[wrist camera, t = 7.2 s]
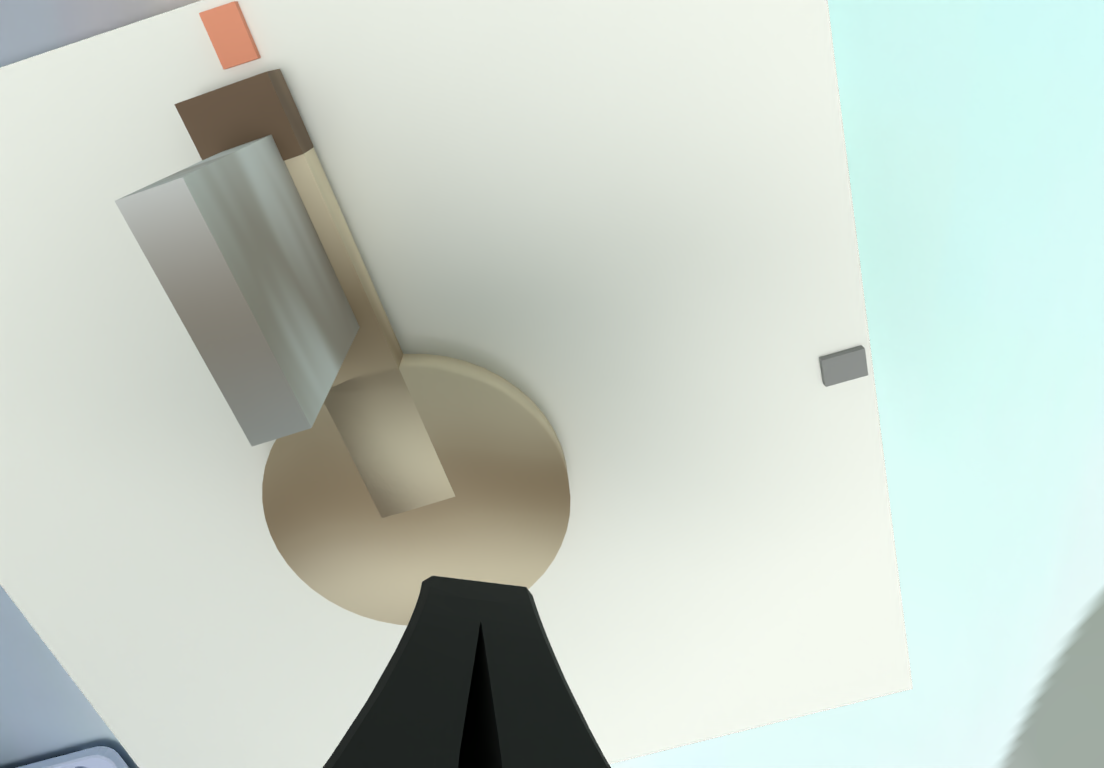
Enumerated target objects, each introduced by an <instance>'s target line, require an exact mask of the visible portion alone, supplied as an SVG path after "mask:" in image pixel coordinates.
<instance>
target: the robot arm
mask: <svg viewBox="0 0 1104 768" xmlns="http://www.w3.org/2000/svg"><path fill="white" fill-rule="evenodd" d="M17 768H129V767H128V766H127V764H126V763H125V762H124V760H123V759H122V758H121V757H120V755H119V754H118V753H117V752H116V751H115V750H114V749H111V748H109V747H105V746H98V747H93V748H89V749H85V750H81V751H77V752H74V753H70V754H66V755H62V756H59V757H55V758H51V759H47V760H43V761H40V762H36V763H32V764H28V765H24V766H21V767H17ZM323 768H611V767H610V765H609V763H608V762H607V760H606V758H605V756H604V755H603V753H602V751H601V749H600V747H599V745H598V743H597V741H596V740H595V738H594V736H593V734H592V732H591V730H590V728H589V726H588V724H587V722H586V720H585V718H584V716H583V714H582V712H581V710H580V708H579V706H578V704H577V702H576V700H575V698H574V696H573V694H572V692H571V690H570V688H569V686H568V683H567V681H566V679H565V677H564V675H563V672H562V670H561V668H560V666H559V663H558V661H557V659H556V656H555V654H554V652H553V649H552V647H551V645H550V642H549V640H548V637H547V635H546V632H545V629H544V627H543V624H542V622H541V619H540V616H539V613H538V610H537V607H536V604H535V601H534V598H533V595H532V594H531V593H530V591H529V590H528V589H527V587H523V586H514V585H506V584H498V583H490V582H481V581H473V580H465V579H457V578H449V577H440V576H431V577H429V578H427V579H426V580H424V581H422V585H421V589H420V594H419V597H418V600H417V603H416V606H415V609H414V611H413V614H412V616H411V618H410V621H409V623H408V625H407V628H406V630H405V632H404V634H403V636H402V638H401V640H400V642H399V644H398V646H397V648H396V650H395V652H394V654H393V656H392V657H391V659H390V661H389V663H388V665H387V666H386V668H385V670H384V672H383V673H382V675H381V677H380V679H379V681H378V682H377V684H376V686H375V688H374V689H373V691H372V693H371V695H370V696H369V698H368V700H367V701H366V703H365V705H364V706H363V708H362V709H361V711H360V712H359V714H358V715H357V717H356V718H355V720H354V721H353V723H352V724H351V726H350V727H349V729H348V731H347V732H346V734H345V735H344V737H343V738H342V740H341V741H340V743H339V744H338V746H337V747H336V749H335V750H334V752H333V753H332V755H331V756H330V758H329V759H328V761H327V762H326V763H325V765H324V766H323Z"/></svg>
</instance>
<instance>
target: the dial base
mask: <svg viewBox="0 0 1104 768" xmlns="http://www.w3.org/2000/svg"><path fill="white" fill-rule="evenodd" d="M276 69H280V70H281V72H282V75H283V77H284V79H285V81H286V84H287V86H288V88H289V91H290V93H291V95H292V98H293V100H294V102H295V104H296V107H297V109H298V111H299V114H300V116H301V118H302V120H303V123H304V125H305V127H306V130H307V132H308V134H309V137H310V139H311V141H312V143H313V146H314V150H315V152H316V154H317V157H318V159H319V161H320V164H321V166H322V168H323V170H324V173H325V175H326V177H327V180H328V182H329V184H330V186H331V189H332V191H333V193H334V196H335V198H336V200H337V203H338V205H339V207H340V209H341V212H342V214H343V216H344V219H345V221H346V223H347V226H348V228H349V230H350V232H351V235H352V237H353V239H354V242H355V244H356V246H357V248H358V251H359V253H360V255H361V258H362V260H363V262H364V265H365V267H366V269H367V271H368V274H369V276H370V278H371V281H372V283H373V285H374V288H375V290H376V292H377V294H378V297H379V299H380V301H381V304H382V306H383V308H384V310H385V313H386V315H387V317H388V320H389V322H390V324H391V327H392V329H393V331H394V333H395V336H396V338H397V340H398V343H399V345H400V347H401V349H402V352H403V354H431V355H439V356H447V357H451V358H455V359H459V360H463V361H467V362H469V363H472V364H475V365H477V366H480V367H483V368H485V369H487V370H489V371H491V372H493V373H495V374H497V375H499V376H501V377H503V378H504V379H506V380H507V381H508V382H510V383H511V384H513V385H514V386H516V387H517V388H519V389H520V390H521V391H522V392H523V393H524V394H525V395H526V396H528V397H529V398H530V399H531V400H532V401H533V402H534V403H535V404H536V406H537V407H538V408H539V409H540V410H541V411H542V413H543V414H544V415H545V416H546V418H547V420H548V421H549V423H550V424H551V426H552V427H553V429H554V431H555V433H556V435H557V437H558V440H559V442H560V444H561V446H562V450H563V453H564V457H565V461H566V466H567V473H568V480H569V489H570V497H571V498H570V516H569V521H568V527H567V531H566V534H565V537H564V540H563V542H562V545H561V547H560V549H559V551H558V553H557V555H556V557H555V559H554V560H553V562H552V563H551V564H550V566H549V567H548V569H547V570H546V571H545V573H544V574H543V575H542V576H541V577H540V578H539V579H538V580H537V581H536V582H535V583H534V584H533V586H531V587H530V588H529V589H528V590H529V591H530V593H531V594H532V595H533V598H534V601H535V604H536V607H537V610H538V613H539V616H540V619H541V622H542V624H543V627H544V629H545V632H546V635H547V637H548V640H549V642H550V645H551V647H552V649H553V652H554V654H555V656H556V659H557V661H558V663H559V666H560V668H561V670H562V672H563V675H564V677H565V679H566V681H567V683H568V686H569V688H570V690H571V692H572V694H573V696H574V698H575V700H576V702H577V704H578V706H579V708H580V710H581V712H582V714H583V716H584V718H585V720H586V722H587V724H588V726H589V728H590V730H591V732H592V734H593V736H594V738H595V740H596V741H597V743H598V745H599V747H600V749H601V751H602V753H603V755H604V756H605V758H606V760H607V762H608V763H609V764H613V763H617V762H621V761H625V760H629V759H633V758H637V757H641V756H645V755H649V754H653V753H657V752H661V751H665V750H669V749H673V748H677V747H681V746H685V745H689V744H693V743H697V742H701V741H705V740H709V739H713V738H717V737H721V736H725V735H729V734H733V733H737V732H741V731H745V730H749V729H753V728H757V727H761V726H765V725H769V724H773V723H777V722H781V721H785V720H789V719H793V718H797V717H801V716H805V715H809V714H813V713H817V712H821V711H825V710H829V709H833V708H837V707H841V706H845V705H849V704H853V703H857V702H861V701H866V700H870V699H874V698H878V697H882V696H886V695H890V694H894V693H898V692H902V691H906V690H910V689H913V687H912V679H911V671H910V663H909V654H908V646H907V638H906V630H905V622H904V614H903V606H902V598H901V590H900V582H899V574H898V566H897V558H896V549H895V541H894V533H893V525H892V517H891V509H890V501H889V493H888V485H887V477H886V469H885V461H884V453H883V444H882V436H881V428H880V420H879V412H878V404H877V396H876V388H875V380H874V372H873V364H872V356H871V348H870V340H869V331H868V323H867V315H866V307H865V299H864V291H863V283H862V275H861V267H860V259H859V251H858V243H857V235H856V226H855V218H854V210H853V202H852V194H851V186H850V178H849V170H848V162H847V154H846V146H845V138H844V130H843V121H842V113H841V105H840V97H839V89H838V81H837V73H836V65H835V57H834V49H833V41H832V33H831V25H830V16H829V8H828V0H201V1H198V2H195V3H192V4H189V5H186V6H183V7H180V8H177V9H174V10H171V11H168V12H165V13H162V14H159V15H156V16H153V17H150V18H147V19H144V20H141V21H138V22H135V23H132V24H129V25H126V26H123V27H120V28H117V29H114V30H111V31H108V32H105V33H102V34H99V35H96V36H93V37H90V38H87V39H84V40H81V41H78V42H75V43H72V44H69V45H66V46H63V47H60V48H57V49H54V50H51V51H48V52H46V53H43V54H40V55H37V56H34V57H31V58H28V59H25V60H22V61H19V62H16V63H13V64H10V65H7V66H4V67H1V68H0V585H1V586H2V587H3V589H4V590H5V591H6V593H7V594H8V595H9V597H10V598H11V599H12V601H13V602H14V603H15V605H16V606H17V607H18V609H19V610H20V611H21V613H22V614H23V615H24V616H25V618H26V619H27V620H28V622H29V623H30V624H31V626H32V627H33V628H34V630H35V631H36V632H37V634H38V635H39V636H40V638H41V639H42V640H43V642H44V643H45V644H46V646H47V647H48V648H49V650H50V651H51V652H52V654H53V655H54V656H55V657H56V659H57V660H58V661H59V663H60V664H61V665H62V667H63V668H64V669H65V671H66V672H67V673H68V675H69V676H70V677H71V679H72V680H73V681H74V683H75V684H76V685H77V687H78V688H79V689H80V691H81V692H82V693H83V695H84V696H85V697H86V698H87V700H88V701H89V702H90V704H91V705H92V706H93V708H94V709H95V710H96V712H97V713H98V714H99V716H100V717H101V718H102V720H103V721H104V722H105V724H106V725H107V726H108V728H109V729H110V730H111V732H112V733H113V734H114V736H115V737H116V738H117V739H118V741H119V742H120V743H121V745H122V746H123V747H124V749H125V750H126V751H127V753H128V754H129V755H130V757H131V758H132V759H133V761H134V762H135V763H136V765H137V766H138V767H139V768H323V766H324V765H325V763H326V762H327V761H328V759H329V758H330V756H331V755H332V753H333V752H334V750H335V749H336V747H337V746H338V744H339V743H340V741H341V740H342V738H343V737H344V735H345V734H346V732H347V731H348V729H349V727H350V726H351V724H352V723H353V721H354V720H355V718H356V717H357V715H358V714H359V712H360V711H361V709H362V708H363V706H364V705H365V703H366V701H367V700H368V698H369V696H370V695H371V693H372V691H373V689H374V688H375V686H376V684H377V682H378V681H379V679H380V677H381V675H382V673H383V672H384V670H385V668H386V666H387V665H388V663H389V661H390V659H391V657H392V656H393V654H394V652H395V650H396V648H397V646H398V644H399V642H400V640H401V638H402V636H403V634H404V632H405V630H406V628H407V625H397V624H392V623H386V622H381V621H377V620H373V619H370V618H366V617H363V616H360V615H358V614H355V613H353V612H350V611H348V610H345V609H343V608H341V607H340V606H338V605H336V604H334V603H332V602H330V601H328V600H327V599H325V598H324V597H323V596H321V595H320V594H318V593H317V592H315V591H314V590H313V589H311V588H310V587H309V586H308V585H307V584H306V583H305V582H304V581H302V580H301V579H300V578H299V577H298V576H297V575H296V573H295V572H294V571H293V570H292V569H291V568H290V567H289V565H288V564H287V563H286V561H285V560H284V558H283V557H282V555H281V554H280V552H279V551H278V549H277V547H276V545H275V543H274V541H273V539H272V537H271V535H270V532H269V529H268V526H267V523H266V520H265V515H264V509H263V503H262V482H263V476H264V470H265V465H266V462H267V459H268V456H269V453H270V450H271V448H272V446H273V444H274V443H275V441H276V439H275V440H272V441H269V442H265V443H262V444H259V445H256V446H253V447H252V446H251V444H250V443H249V441H248V439H247V437H246V435H245V434H244V432H243V430H242V428H241V426H240V425H239V423H238V421H237V419H236V417H235V416H234V414H233V412H232V410H231V409H230V407H229V405H228V403H227V401H226V400H225V398H224V396H223V394H222V392H221V391H220V389H219V387H218V385H217V383H216V382H215V380H214V378H213V376H212V375H211V373H210V371H209V369H208V367H207V366H206V364H205V362H204V360H203V358H202V357H201V355H200V353H199V351H198V349H197V348H196V346H195V344H194V342H193V341H192V339H191V337H190V335H189V333H188V332H187V330H186V328H185V326H184V324H183V323H182V321H181V319H180V317H179V315H178V314H177V312H176V310H175V308H174V307H173V305H172V303H171V301H170V299H169V298H168V296H167V294H166V292H165V290H164V289H163V287H162V285H161V283H160V282H159V280H158V278H157V276H156V274H155V273H154V271H153V269H152V267H151V265H150V264H149V262H148V260H147V258H146V256H145V255H144V253H143V251H142V249H141V248H140V246H139V244H138V242H137V240H136V239H135V237H134V235H133V233H132V231H131V230H130V228H129V226H128V224H127V222H126V221H125V219H124V217H123V215H122V214H121V212H120V210H119V208H118V206H117V205H116V203H115V200H118V199H120V198H122V197H124V196H126V195H128V194H131V193H133V192H135V191H137V190H139V189H141V188H144V187H146V186H148V185H150V184H152V183H155V182H157V181H159V180H161V179H163V178H165V177H168V176H170V175H172V174H174V173H176V172H178V171H181V170H183V169H185V168H187V167H189V166H192V165H194V164H196V163H198V162H200V161H202V159H201V157H200V155H199V153H198V151H197V149H196V147H195V145H194V143H193V141H192V139H191V137H190V135H189V133H188V131H187V129H186V127H185V125H184V123H183V121H182V119H181V117H180V115H179V113H178V111H177V109H176V107H175V105H174V104H177V103H179V102H182V101H185V100H188V99H191V98H193V97H196V96H199V95H202V94H205V93H207V92H210V91H213V90H216V89H219V88H222V87H224V86H227V85H230V84H233V83H236V82H238V81H241V80H244V79H247V78H250V77H252V76H255V75H258V74H261V73H264V72H267V71H271V70H276Z"/></svg>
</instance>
